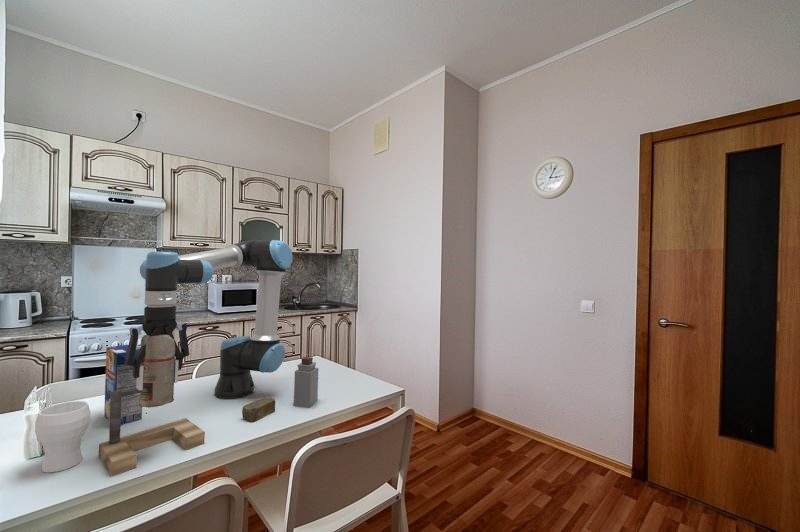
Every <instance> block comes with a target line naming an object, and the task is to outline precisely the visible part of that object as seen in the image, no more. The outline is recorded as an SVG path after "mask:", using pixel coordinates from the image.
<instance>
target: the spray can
mask: <svg viewBox="0 0 800 532" xmlns="http://www.w3.org/2000/svg"><path fill="white" fill-rule="evenodd" d="M174 339H175V338H174ZM174 339H172V338H171V337H170V335H157V336H151V337H150V336H149V335H147V334H146V333H145V334H144V335H142V337H141V339H140V347H141V346H143V345H145V344H146V355H145V357H144V359H143V360H142V362H141V365H143V366H144V369H143V390H141V393H140V404H139V406H140V407H142V408H156V407H162V406H164V405H167V404H171V403H173V402H174V401H175V398H174V397H175V396H174V395H175V393H174V391H175V390H174V389H175V388H174V387H175V383H174V363H175V359H176V357H175V341H176V340H175V341H174ZM148 340H149V341H148Z"/></svg>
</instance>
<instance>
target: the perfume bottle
mask: <svg viewBox="0 0 800 532" xmlns="http://www.w3.org/2000/svg"><path fill="white" fill-rule="evenodd" d="M316 365H317V362H315V361H313V356H304V357H302V358H301V362H300V363H298V364H297V369H296V370H294V379H293V380H294V382H293V383H294V385H293V387H294V388H293V406H294V407H301V408H306V409H307V408H308V409H311V408H312V407H313V406H314V405H315V404H316V403H318V393H319V392H318V391H319V367H316Z"/></svg>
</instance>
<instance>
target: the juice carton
mask: <svg viewBox="0 0 800 532" xmlns="http://www.w3.org/2000/svg"><path fill="white" fill-rule="evenodd" d="M128 345H129V344H124V345H115V346H109V347H106V351H105V352H106V354H105V377H104V378H105V383H104V384H105V385H104V414H103V416H104V418H105V419H106V420H107V421H108V422H109V423H110V396H111V392H113V391H122V392H126V391H130V390H135V389H137V388H136V384H137V378H134V377H133V366H128V365H127V364H125V358H126V353H127V349H128ZM140 347H141V346H140ZM140 347H139V346H138V345H137V346H136V351H135V355H134V359H135V357H136V355H137V353H138V351H139V349H140ZM134 359H133V360H134ZM139 404H140V393H136V394H132V395H127V396H123V397H121V426H123V425H127V424H129V423H134V422H137V421H140V420H142V419H143V407H140V406H139Z"/></svg>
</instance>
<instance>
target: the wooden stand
mask: <svg viewBox="0 0 800 532" xmlns="http://www.w3.org/2000/svg"><path fill="white" fill-rule="evenodd" d="M136 393H141V390H138V389H135V390H130V391H126V392H122V391H113V392H111V396H110V422H109V429H108V430H109V431H108V432H109V433H108V440H106V441H104V442H103V441H102V442H100V443H98V457H99V459H100V460H101V462H102V464H103V465H104V466H105V468H106V470H107V471H108V473H109V474H110V476H111V477H114V476H117V475H120V474H123V473H125V472H128V471H131V470H133V469H136V468H137V453H136V452H135V451H138V450H141V449H146V448H149V447H151V446H154V445H158V444H160V443H163V442H166V441H167V442H168V441H170V440H174V441H175V442H176V443H177V444H179V445H180V447H182V448H183V449H184V450H186V451H187V450H190V449H193V448H196V447H198V446H201V445H203V444H205V438H206V437H205V434H206V433H205V430H203V429H201V428H200V427H199V426H197V425H196V424H195V423H194V422H192V421H191V420H190V419H188V418H186V417H185V418H182V419H179V420H178V419H177V420H174V421H172V422H168V423H165V424H161V425H158V426H154V427H150V428H148V429H144V430H141V431H137V432H133V433H131V434H126V435H123V436H121V426H122V425H121V397H123V396H127V395H132V394H136Z"/></svg>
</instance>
